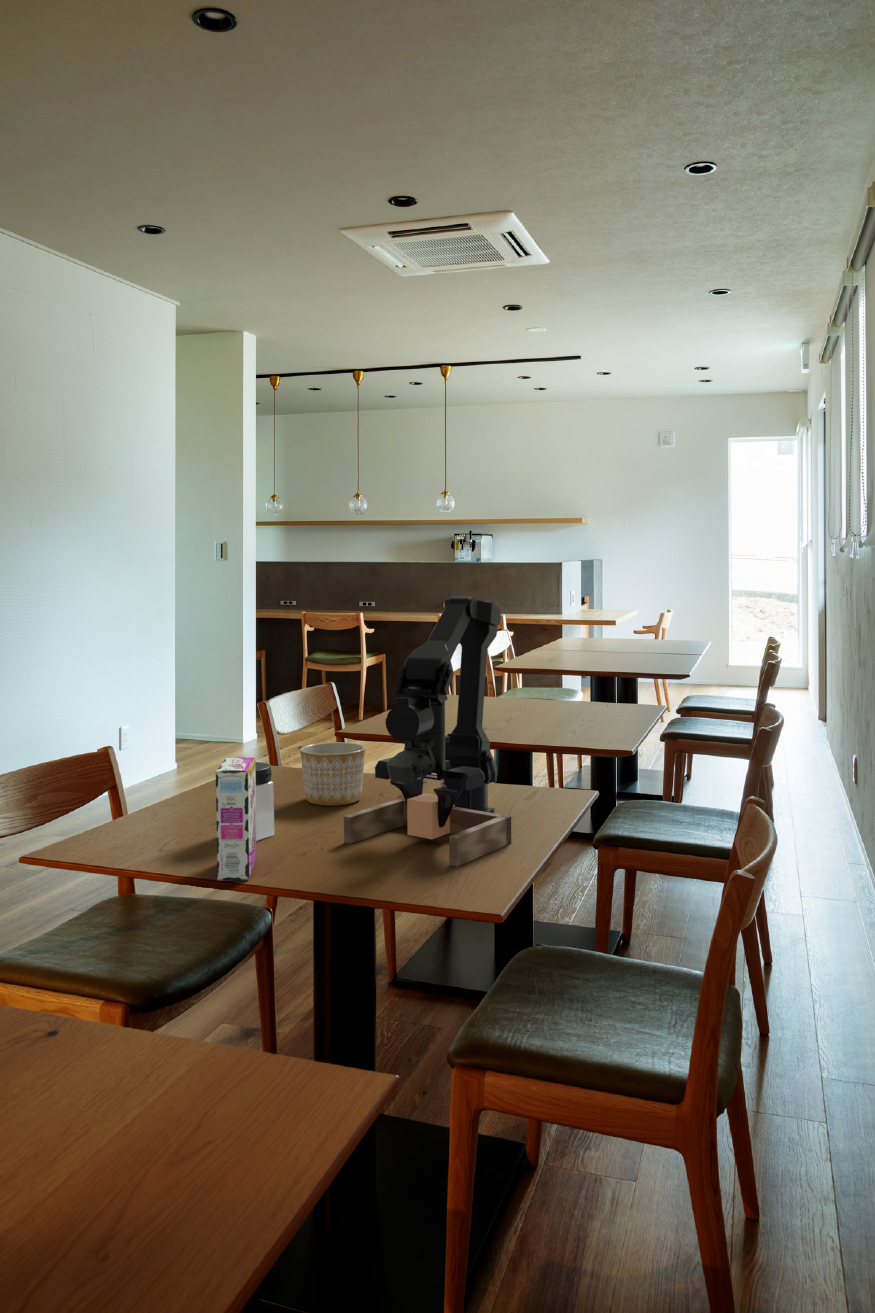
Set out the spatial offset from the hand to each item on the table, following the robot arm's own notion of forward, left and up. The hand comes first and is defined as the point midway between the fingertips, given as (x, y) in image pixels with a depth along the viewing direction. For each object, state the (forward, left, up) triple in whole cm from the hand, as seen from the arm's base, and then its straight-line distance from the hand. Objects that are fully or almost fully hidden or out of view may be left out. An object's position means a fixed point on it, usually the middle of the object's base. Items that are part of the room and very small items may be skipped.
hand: (428, 824), depth 160 cm
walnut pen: (+1, 0, -3) cm, 3 cm away
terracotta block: (0, 0, -2) cm, 2 cm away
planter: (-13, -33, -3) cm, 36 cm away
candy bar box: (+28, -15, -3) cm, 32 cm away
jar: (+14, -28, -3) cm, 32 cm away
